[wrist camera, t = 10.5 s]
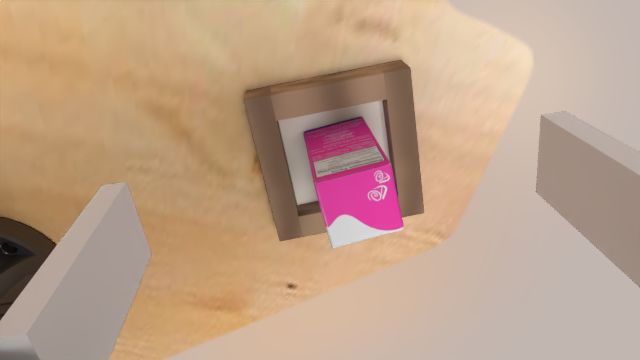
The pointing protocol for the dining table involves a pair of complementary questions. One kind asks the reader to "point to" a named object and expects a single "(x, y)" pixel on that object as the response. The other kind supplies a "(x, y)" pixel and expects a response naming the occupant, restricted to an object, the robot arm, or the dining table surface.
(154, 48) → the dining table surface
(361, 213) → the supplement box
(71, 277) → the robot arm
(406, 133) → the socket block
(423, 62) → the dining table surface
